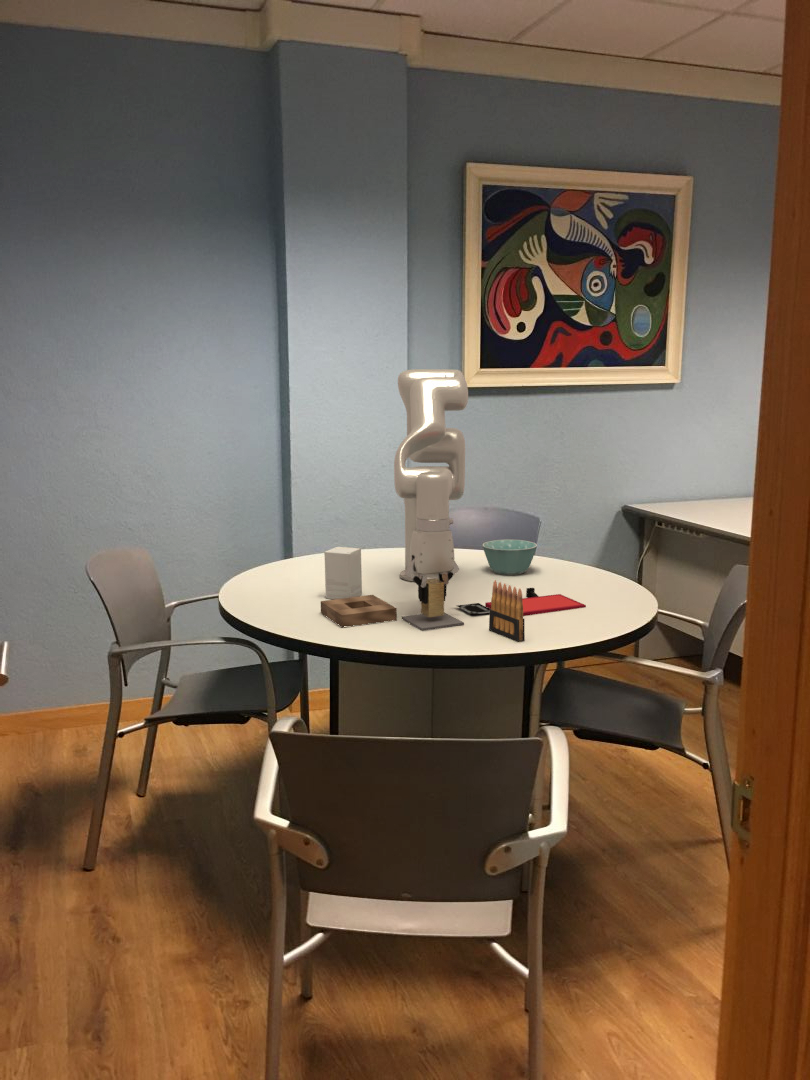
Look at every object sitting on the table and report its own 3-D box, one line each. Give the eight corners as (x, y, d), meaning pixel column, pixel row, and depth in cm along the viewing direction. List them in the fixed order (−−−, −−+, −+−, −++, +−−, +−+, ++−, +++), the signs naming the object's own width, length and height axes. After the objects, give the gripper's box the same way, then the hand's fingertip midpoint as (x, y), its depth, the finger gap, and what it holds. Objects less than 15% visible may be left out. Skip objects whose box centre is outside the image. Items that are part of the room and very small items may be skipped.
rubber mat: (441, 613, 227) (441, 611, 226) (463, 624, 217) (463, 622, 217) (401, 618, 222) (401, 616, 222) (422, 630, 212) (422, 628, 212)
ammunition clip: (488, 630, 213) (489, 579, 210) (495, 629, 214) (495, 578, 211) (518, 642, 204) (519, 589, 201) (524, 641, 205) (526, 588, 202)
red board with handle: (451, 607, 233) (481, 623, 219) (452, 596, 232) (482, 612, 219) (551, 595, 245) (585, 610, 232) (552, 585, 245) (586, 599, 231)
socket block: (372, 606, 233) (372, 594, 233) (396, 620, 221) (396, 608, 220) (320, 612, 227) (320, 601, 227) (342, 627, 215) (341, 615, 214)
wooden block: (435, 611, 222) (436, 578, 220) (443, 615, 218) (443, 582, 217) (421, 613, 220) (421, 580, 218) (428, 617, 216) (428, 584, 215)
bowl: (471, 572, 269) (471, 544, 267) (502, 563, 281) (502, 536, 279) (516, 580, 259) (517, 552, 257) (546, 571, 271) (547, 543, 269)
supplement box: (362, 595, 244) (362, 548, 242) (349, 601, 238) (348, 553, 235) (338, 592, 247) (337, 545, 245) (324, 598, 241) (323, 551, 238)
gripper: (456, 519, 222) (455, 593, 225) (393, 525, 215) (393, 601, 218) (471, 524, 215) (471, 601, 219) (407, 531, 208) (407, 609, 212)
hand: (432, 600), depth 218 cm, fingers closed on wooden block, 4 cm apart
